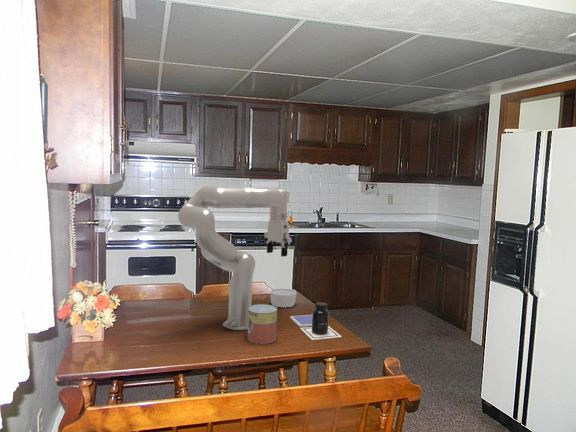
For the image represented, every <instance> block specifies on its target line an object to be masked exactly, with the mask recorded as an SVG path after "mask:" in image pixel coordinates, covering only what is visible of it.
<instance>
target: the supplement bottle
mask: <svg viewBox="0 0 576 432" xmlns="http://www.w3.org/2000/svg"><path fill="white" fill-rule="evenodd" d="M312 315H313V316H312V326H311V327H312V332H313V333H315V334H319V335H324V334H327V333H328V326H329V325H330V324H329V323H330V312H329V310H328V303H326V302H321V301H317V302H316V303H315V308H314V309H313V311H312Z"/></svg>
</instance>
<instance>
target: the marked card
mask: <svg viewBox="0 0 576 432" xmlns="http://www.w3.org/2000/svg"><path fill="white" fill-rule="evenodd" d="M299 329H300V330H301V331H302V332H303V333H304V334H305V335H306V336H307V337H308V338H309V339H310V340H311V341H317V340H319V341H320V340H327V339H338V338H342V335H340V334H339V333H338V332H337V331H336V330H334V328H332V327H330V325H328V333H327V334H324V335H319V334H315V333H313V332H312V326H310V327H299Z"/></svg>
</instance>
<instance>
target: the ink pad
mask: <svg viewBox="0 0 576 432" xmlns="http://www.w3.org/2000/svg"><path fill="white" fill-rule="evenodd" d="M312 316H313V314H305V315H291V316H290V317H289V319H291V321H292V322H294V323H295V325H297V326H298V328H306V327H309V326H310V327H312Z"/></svg>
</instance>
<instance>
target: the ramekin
mask: <svg viewBox="0 0 576 432" xmlns="http://www.w3.org/2000/svg"><path fill="white" fill-rule="evenodd" d="M297 294H298V292H297V291H296V290H295V289H292V288H287V287H280V288H279V287H278V288H273V289H270V292H269V295H270V303H271V305H272V306H276V308H278V307H281V308H280V309H287V308H286V307H290V308H292V307H294V305H295V303H296V299H297ZM282 307H283V308H282ZM284 307H285V308H284Z"/></svg>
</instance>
